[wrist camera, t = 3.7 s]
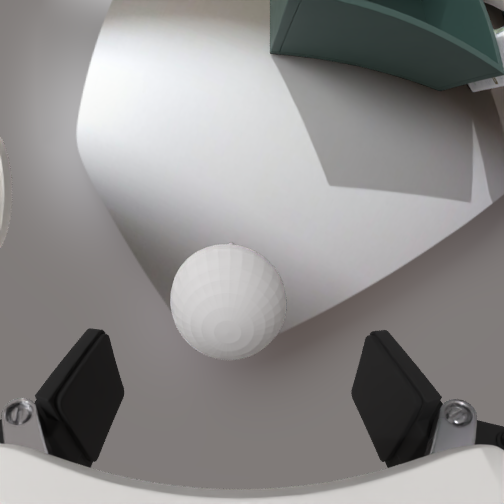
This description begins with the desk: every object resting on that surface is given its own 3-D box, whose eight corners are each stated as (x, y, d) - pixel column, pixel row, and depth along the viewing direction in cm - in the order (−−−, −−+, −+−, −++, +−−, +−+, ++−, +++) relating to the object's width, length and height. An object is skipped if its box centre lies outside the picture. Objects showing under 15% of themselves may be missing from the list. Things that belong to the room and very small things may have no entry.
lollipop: (188, 223, 25) (133, 289, 11) (250, 201, 25) (273, 241, 11) (212, 284, 27) (194, 397, 12) (271, 264, 27) (311, 365, 12)
